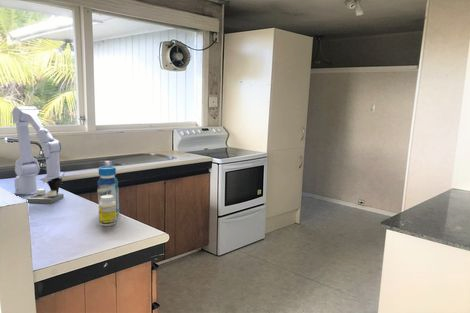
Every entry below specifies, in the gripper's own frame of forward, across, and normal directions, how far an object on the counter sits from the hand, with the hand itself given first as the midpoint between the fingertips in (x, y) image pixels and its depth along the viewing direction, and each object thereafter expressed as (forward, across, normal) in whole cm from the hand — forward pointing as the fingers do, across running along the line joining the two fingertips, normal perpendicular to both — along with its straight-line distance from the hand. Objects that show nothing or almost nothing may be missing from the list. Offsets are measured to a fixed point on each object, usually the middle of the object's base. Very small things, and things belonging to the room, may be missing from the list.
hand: (55, 193), depth 172 cm
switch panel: (+3, -2, +4) cm, 5 cm away
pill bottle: (+3, -30, -40) cm, 50 cm away
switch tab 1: (0, 0, +7) cm, 7 cm away
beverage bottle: (+3, -18, -35) cm, 40 cm away
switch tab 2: (0, -2, 0) cm, 2 cm away
